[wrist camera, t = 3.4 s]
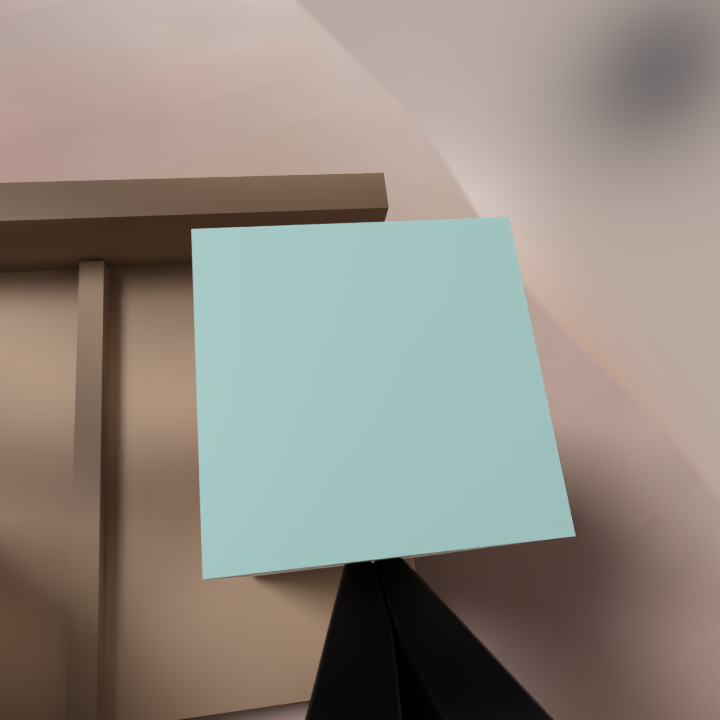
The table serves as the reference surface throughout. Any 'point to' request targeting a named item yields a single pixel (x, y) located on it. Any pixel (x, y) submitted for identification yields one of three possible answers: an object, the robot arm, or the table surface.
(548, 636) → the table surface
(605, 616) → the table surface
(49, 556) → the brown divided rack
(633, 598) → the table surface
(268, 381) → the white tall block
